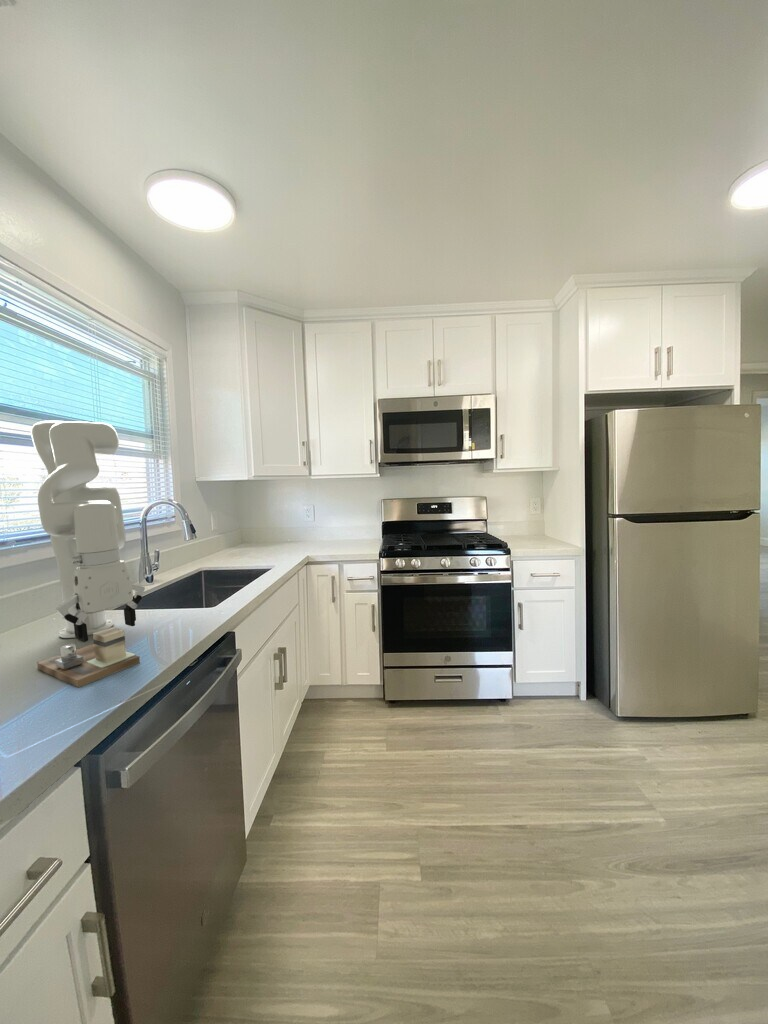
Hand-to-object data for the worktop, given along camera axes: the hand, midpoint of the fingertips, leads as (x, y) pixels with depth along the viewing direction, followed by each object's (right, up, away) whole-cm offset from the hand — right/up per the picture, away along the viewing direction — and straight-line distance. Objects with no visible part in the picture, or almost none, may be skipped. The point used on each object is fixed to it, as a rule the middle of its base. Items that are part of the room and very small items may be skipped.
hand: (107, 632), depth 90 cm
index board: (-5, -8, 0) cm, 9 cm away
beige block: (+1, -6, 0) cm, 6 cm away
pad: (+1, -6, 0) cm, 6 cm away
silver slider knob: (-6, -6, -3) cm, 9 cm away
